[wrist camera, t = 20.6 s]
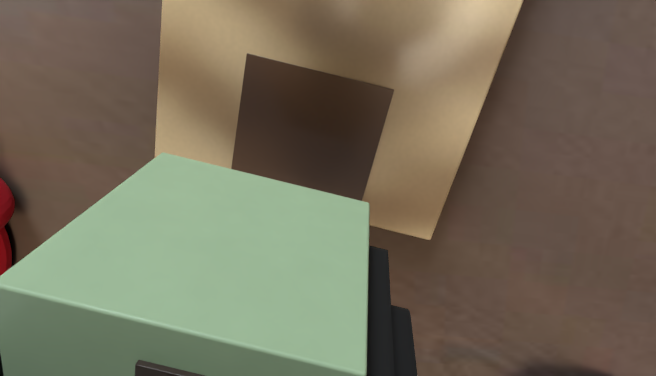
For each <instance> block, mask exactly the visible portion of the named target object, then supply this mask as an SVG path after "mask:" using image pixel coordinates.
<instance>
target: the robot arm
mask: <svg viewBox="0 0 656 376" xmlns="http://www.w3.org/2000/svg"><path fill="white" fill-rule="evenodd" d="M0 376H4V374H3V367H2V361H1V354H0ZM367 376H417V369H416V360H415V351H414V343H413V334H412V325H411V316H410V312H409V310H408V309H405V308H401V307H397V306H393V305H391V299H390V280H389V262H388V251H387V250H385V249H381V248H377V247H372V246H369V273H368V331H367Z"/></svg>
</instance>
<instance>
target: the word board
mask: <svg viewBox="0 0 656 376" xmlns="http://www.w3.org/2000/svg"><path fill="white" fill-rule="evenodd" d="M523 1H524V0H162V18H161V38H160V59H159V79H158V100H157V120H156V141H155V158H156V157H157V156H158V155H160V154H161V153H168V154H172V155H176V156H180V157H184V158H188V159H192V160H196V161H201V162H205V163H209V164H213V165H217V166H221V167H225V168H229V169H233V170H237V171H241V172H245V173H249V174H254V175H258V176H262V177H266V178H270V179H274V180H278V181H282V182H286V183H290V184H294V185H298V186H302V187H307V188H311V189H315V190H319V191H323V192H327V193H331V194H335V195H339V196H343V197H347V198H351V199H355V200H360V201H364V202H368V203H369V204H370V214H369V225H370V226H374V227H378V228H382V229H386V230H390V231H394V232H398V233H402V234H406V235H410V236H414V237H418V238H422V239H426V240H430V239H431V237H432V235H433V232H434V229H435V227H436V224H437V222H438V219H439V217H440V214H441V211H442V209H443V206H444V204H445V201H446V199H447V196H448V193H449V191H450V188H451V186H452V183H453V181H454V178H455V176H456V173H457V170H458V168H459V165H460V163H461V160H462V158H463V155H464V152H465V150H466V147H467V145H468V142H469V140H470V137H471V134H472V132H473V129H474V127H475V124H476V122H477V119H478V116H479V114H480V111H481V109H482V106H483V104H484V101H485V98H486V96H487V93H488V91H489V88H490V86H491V83H492V81H493V78H494V75H495V73H496V70H497V68H498V65H499V63H500V60H501V57H502V55H503V52H504V50H505V47H506V45H507V42H508V39H509V37H510V34H511V32H512V29H513V27H514V24H515V21H516V19H517V16H518V14H519V11H520V9H521V6H522V3H523Z"/></svg>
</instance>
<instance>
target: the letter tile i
mask: <svg viewBox="0 0 656 376" xmlns="http://www.w3.org/2000/svg"><path fill="white" fill-rule="evenodd" d="M369 214H370V204H369V203H368V202H364V201H360V200H355V199H351V198H347V197H343V196H339V195H335V194H331V193H327V192H323V191H319V190H315V189H311V188H307V187H302V186H298V185H294V184H290V183H286V182H282V181H278V180H274V179H270V178H266V177H262V176H258V175H254V174H249V173H245V172H241V171H237V170H233V169H229V168H225V167H221V166H217V165H213V164H209V163H205V162H201V161H196V160H192V159H188V158H184V157H180V156H176V155H172V154H168V153H161V154H160V155H158V156H157V157H156V158H154V159H153V160H152V161H150V162H149V163H148V164H146V165H145V166H144V167H142V168H141V169H140V170H139V171H137V172H136V173H135V174H133V175H132V176H131V177H129V178H128V179H127V180H125V181H124V182H123V183H121V184H120V185H119V186H118V187H116V188H115V189H114V190H112V191H111V192H110V193H108V194H107V195H106V196H104V197H103V198H102V199H100V200H99V201H98V202H97V203H95V204H94V205H93V206H91V207H90V208H89V209H87V210H86V211H85V212H83V213H82V214H81V215H79V216H78V217H77V218H76V219H74V220H73V221H72V222H70V223H69V224H68V225H66V226H65V227H64V228H62V229H61V230H60V231H58V232H57V233H56V234H55V235H53V236H52V237H51V238H49V239H48V240H47V241H45V242H44V243H43V244H41V245H40V246H39V247H37V248H36V249H35V250H34V251H32V252H31V253H30V254H28V255H27V256H26V257H24V258H23V259H22V260H20V261H19V262H18V263H16V264H15V265H14V266H12V267H11V268H10V269H9V270H7V271H6V272H5V273H3V274H2V275H1V276H0V354H1V361H2V367H3V374H4V376H367V331H368V273H369Z"/></svg>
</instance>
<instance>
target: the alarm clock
mask: <svg viewBox="0 0 656 376" xmlns="http://www.w3.org/2000/svg"><path fill="white" fill-rule="evenodd" d="M14 208H15V200H14V197H13V195H12V192H11V190H10V188H9V187H8V186H7V184H6V183H5V182H4V181H3V180H2V179H1V178H0V276H1V275H2V274H3V273H5V272H6V271H7V270H9V269H10V268H11V264H12V252H11V246H10V242H9V238H8V234H7V232H6V229H5V227H4V226H5V225H6V224H7V222H8V221H9V220H10V218H11V217H12V215H13V213H14Z"/></svg>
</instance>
